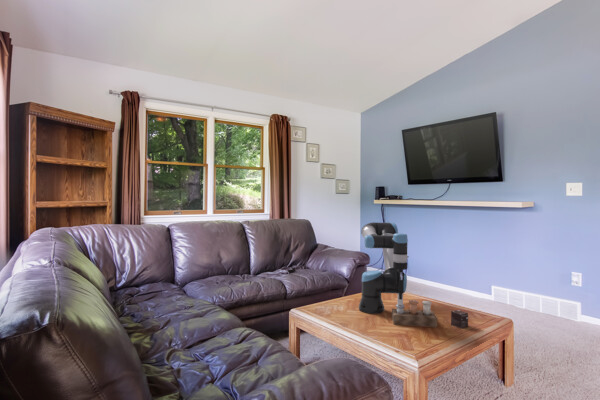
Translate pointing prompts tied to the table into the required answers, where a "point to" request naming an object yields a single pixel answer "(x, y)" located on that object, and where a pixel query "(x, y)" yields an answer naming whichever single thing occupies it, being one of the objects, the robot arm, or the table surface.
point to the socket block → (414, 318)
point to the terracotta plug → (413, 306)
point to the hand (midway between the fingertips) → (400, 304)
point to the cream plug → (426, 307)
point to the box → (459, 319)
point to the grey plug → (400, 308)
